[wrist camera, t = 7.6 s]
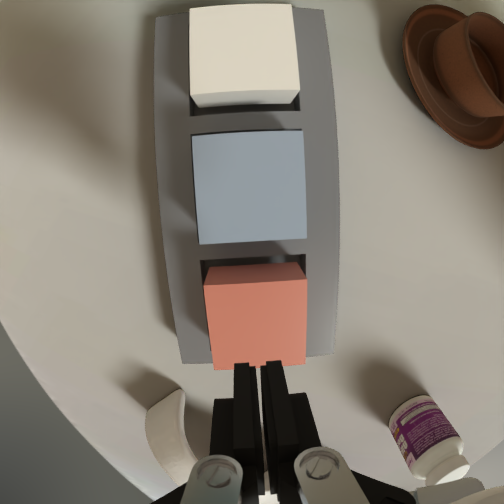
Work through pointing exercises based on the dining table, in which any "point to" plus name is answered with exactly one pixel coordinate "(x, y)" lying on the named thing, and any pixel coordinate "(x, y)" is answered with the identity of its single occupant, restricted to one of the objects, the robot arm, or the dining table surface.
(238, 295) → the key red
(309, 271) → the grey flat tray
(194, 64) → the key white
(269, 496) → the spoon rest
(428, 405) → the pill bottle
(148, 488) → the dining table surface
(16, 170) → the dining table surface
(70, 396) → the dining table surface
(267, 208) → the key blue
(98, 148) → the dining table surface
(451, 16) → the cup and saucer
